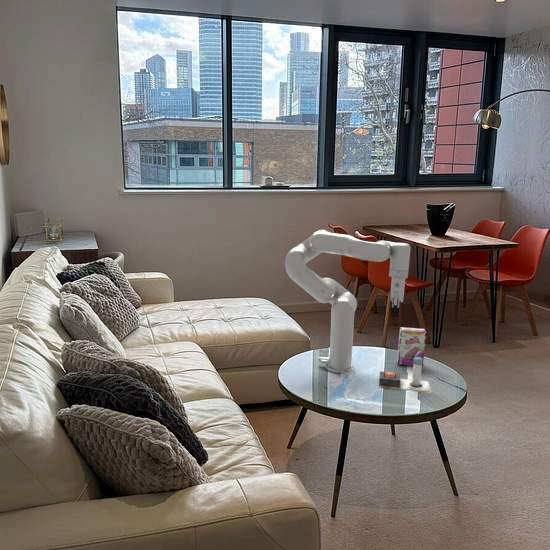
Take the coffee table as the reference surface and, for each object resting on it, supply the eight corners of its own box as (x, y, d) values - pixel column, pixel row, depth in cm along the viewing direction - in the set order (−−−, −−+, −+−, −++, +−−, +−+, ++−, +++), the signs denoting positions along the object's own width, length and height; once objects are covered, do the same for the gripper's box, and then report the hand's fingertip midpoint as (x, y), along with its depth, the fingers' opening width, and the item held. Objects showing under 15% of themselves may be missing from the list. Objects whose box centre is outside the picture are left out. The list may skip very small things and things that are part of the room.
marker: (411, 385, 230) (414, 359, 228) (411, 382, 234) (413, 356, 232) (420, 386, 230) (422, 360, 228) (420, 383, 233) (422, 357, 231)
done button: (384, 382, 232) (385, 374, 231) (384, 379, 236) (385, 371, 235) (394, 384, 231) (395, 375, 231) (394, 380, 235) (395, 372, 234)
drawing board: (378, 389, 229) (379, 380, 228) (379, 378, 241) (380, 369, 240) (431, 395, 225) (432, 385, 224) (429, 383, 237) (429, 374, 236)
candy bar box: (397, 365, 257) (400, 330, 254) (396, 361, 262) (399, 326, 258) (423, 367, 256) (426, 331, 253) (421, 363, 261) (424, 328, 257)
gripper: (407, 277, 229) (403, 322, 233) (408, 270, 243) (404, 313, 247) (388, 275, 231) (384, 320, 234) (390, 269, 245) (386, 311, 249)
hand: (394, 316), depth 241 cm, fingers closed
